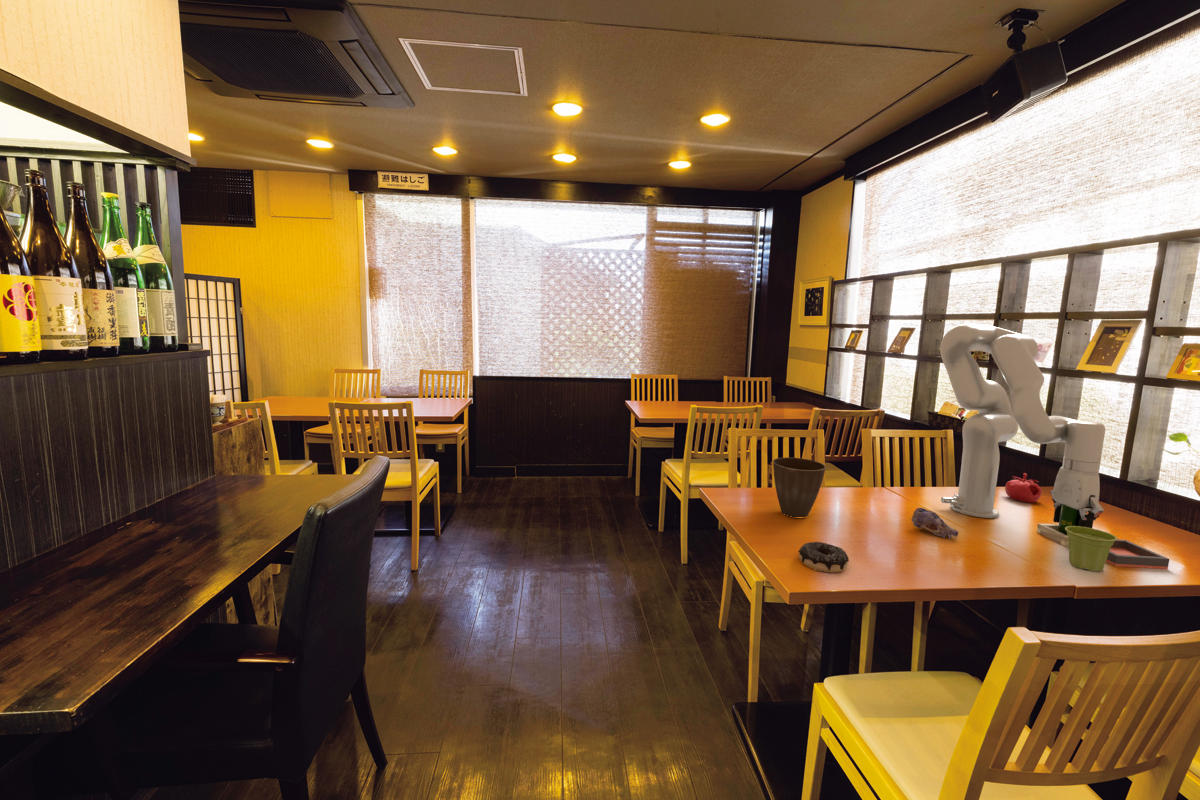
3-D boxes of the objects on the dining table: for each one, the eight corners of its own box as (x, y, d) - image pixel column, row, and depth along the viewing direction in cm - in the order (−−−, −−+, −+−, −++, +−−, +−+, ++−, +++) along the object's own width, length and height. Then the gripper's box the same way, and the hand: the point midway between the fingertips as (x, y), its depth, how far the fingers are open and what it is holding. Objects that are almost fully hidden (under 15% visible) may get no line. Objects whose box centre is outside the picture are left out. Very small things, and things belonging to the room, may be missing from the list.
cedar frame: (1064, 546, 144) (1065, 537, 143) (1036, 531, 154) (1037, 523, 153) (1104, 548, 143) (1106, 539, 142) (1074, 533, 153) (1075, 525, 153)
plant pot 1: (831, 517, 161) (836, 466, 158) (801, 527, 152) (805, 472, 150) (789, 503, 173) (793, 455, 171) (759, 511, 164) (762, 460, 162)
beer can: (1084, 540, 148) (1090, 498, 146) (1080, 545, 145) (1086, 502, 143) (1059, 534, 152) (1065, 493, 150) (1054, 538, 149) (1060, 497, 147)
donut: (842, 557, 133) (843, 542, 132) (853, 578, 122) (854, 562, 121) (795, 552, 135) (796, 537, 135) (801, 572, 124) (803, 556, 123)
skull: (963, 540, 146) (966, 518, 146) (943, 543, 144) (946, 521, 143) (923, 524, 157) (925, 504, 157) (904, 527, 155) (906, 507, 154)
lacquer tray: (1115, 566, 132) (1116, 556, 131) (1076, 546, 143) (1077, 537, 143) (1167, 569, 131) (1169, 559, 130) (1124, 549, 143) (1125, 539, 142)
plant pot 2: (1050, 558, 135) (1054, 525, 134) (1084, 558, 136) (1089, 525, 135) (1086, 575, 126) (1091, 540, 125) (1122, 574, 127) (1128, 540, 126)
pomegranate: (1001, 499, 184) (1003, 473, 183) (1007, 493, 191) (1010, 468, 190) (1037, 506, 177) (1040, 479, 176) (1043, 500, 184) (1045, 474, 182)
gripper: (1042, 457, 154) (1034, 516, 157) (1092, 473, 137) (1082, 539, 139) (1070, 459, 154) (1061, 517, 156) (1123, 475, 137) (1113, 541, 139)
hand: (1071, 527), depth 148 cm, fingers open, 7 cm apart
